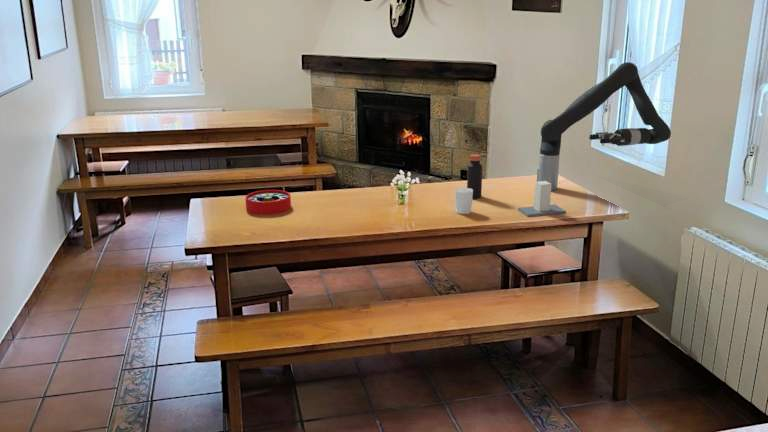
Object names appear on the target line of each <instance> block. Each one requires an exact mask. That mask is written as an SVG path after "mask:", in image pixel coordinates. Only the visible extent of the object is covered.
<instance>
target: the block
mask: <svg viewBox="0 0 768 432" xmlns="http://www.w3.org/2000/svg"><path fill="white" fill-rule="evenodd" d="M551 195H552V190H551V183H549V182H547V181H540V182H537V181H535V183H534V196H533V197H534V198H533V200H534V201H533V206H534V209H536V210H538V211H549V210H550V205H551Z"/></svg>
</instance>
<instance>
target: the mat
mask: <svg viewBox="0 0 768 432" xmlns="http://www.w3.org/2000/svg"><path fill="white" fill-rule="evenodd" d="M517 211H519V212H520V213H521V212H522V213H521V214H523V215H524V214H525V216H526V217H530V218H531V217H538V216H549V215H550V216H551V215H558V214H559V215H560V214H567V211H566V210H565V209H563V208H562V207H560V206H559V205H557V204H550V210H549V211H538V210H536V209H534V205H533V206H524V207H523V206H522V207H517Z"/></svg>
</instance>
